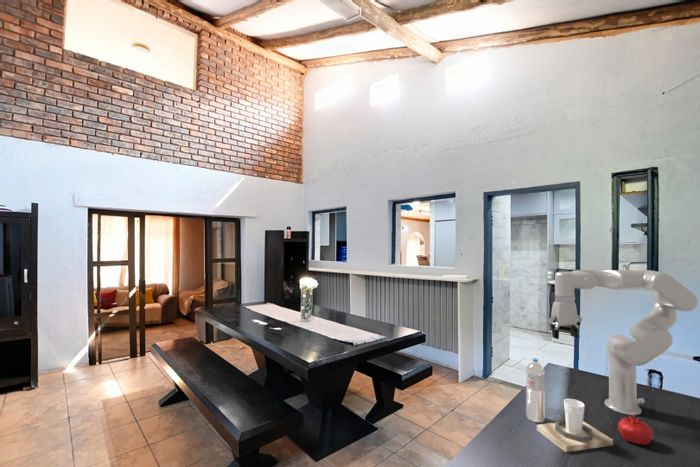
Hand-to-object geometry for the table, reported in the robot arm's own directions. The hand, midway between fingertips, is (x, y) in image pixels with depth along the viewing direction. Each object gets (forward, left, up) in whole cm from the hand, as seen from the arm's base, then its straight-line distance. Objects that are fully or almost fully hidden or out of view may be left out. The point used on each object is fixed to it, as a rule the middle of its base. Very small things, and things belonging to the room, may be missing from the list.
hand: (564, 337), depth 154 cm
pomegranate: (-4, +28, -31) cm, 42 cm away
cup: (+17, +22, -28) cm, 39 cm away
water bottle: (+22, +8, -31) cm, 38 cm away
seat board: (+17, +22, -30) cm, 41 cm away
